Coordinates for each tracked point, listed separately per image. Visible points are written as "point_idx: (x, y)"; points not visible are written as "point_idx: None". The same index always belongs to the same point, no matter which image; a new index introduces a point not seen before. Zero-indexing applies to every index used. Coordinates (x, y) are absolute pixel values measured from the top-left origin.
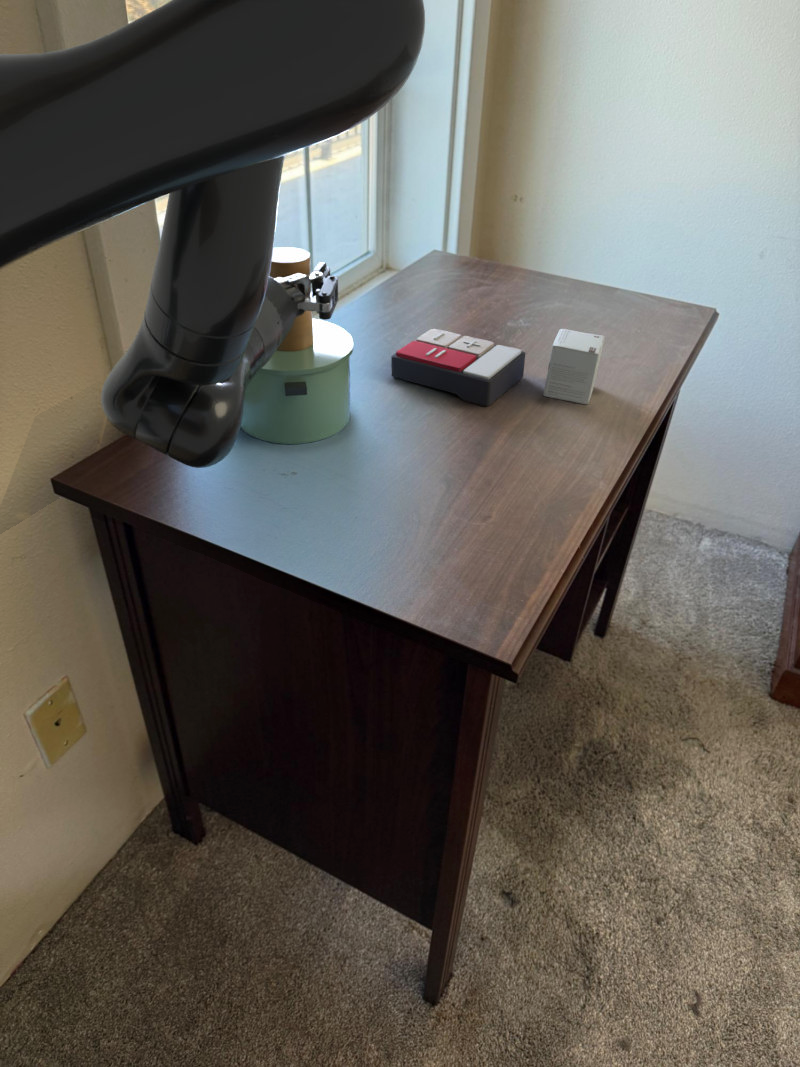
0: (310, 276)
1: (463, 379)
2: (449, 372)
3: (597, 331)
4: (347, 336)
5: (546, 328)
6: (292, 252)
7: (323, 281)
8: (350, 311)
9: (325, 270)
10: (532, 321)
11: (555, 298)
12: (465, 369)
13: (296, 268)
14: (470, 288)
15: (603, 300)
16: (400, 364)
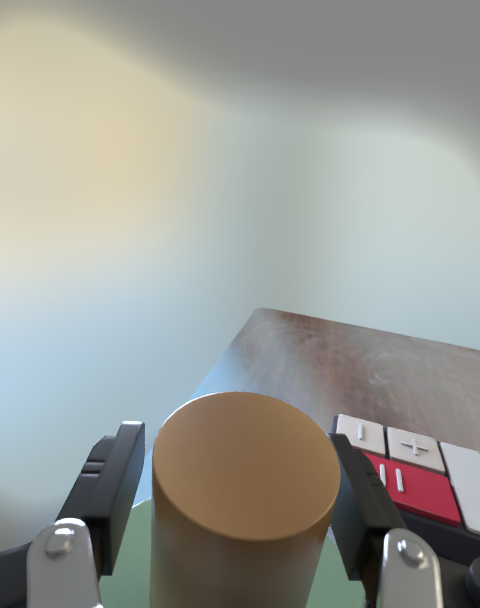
0: (413, 597)
1: (472, 543)
2: (443, 529)
3: (449, 385)
4: (340, 562)
5: (407, 385)
6: (259, 423)
7: (453, 596)
8: (213, 376)
9: (366, 473)
10: (386, 376)
11: (377, 347)
12: (468, 522)
13: (320, 534)
14: (305, 339)
15: (412, 347)
16: None
